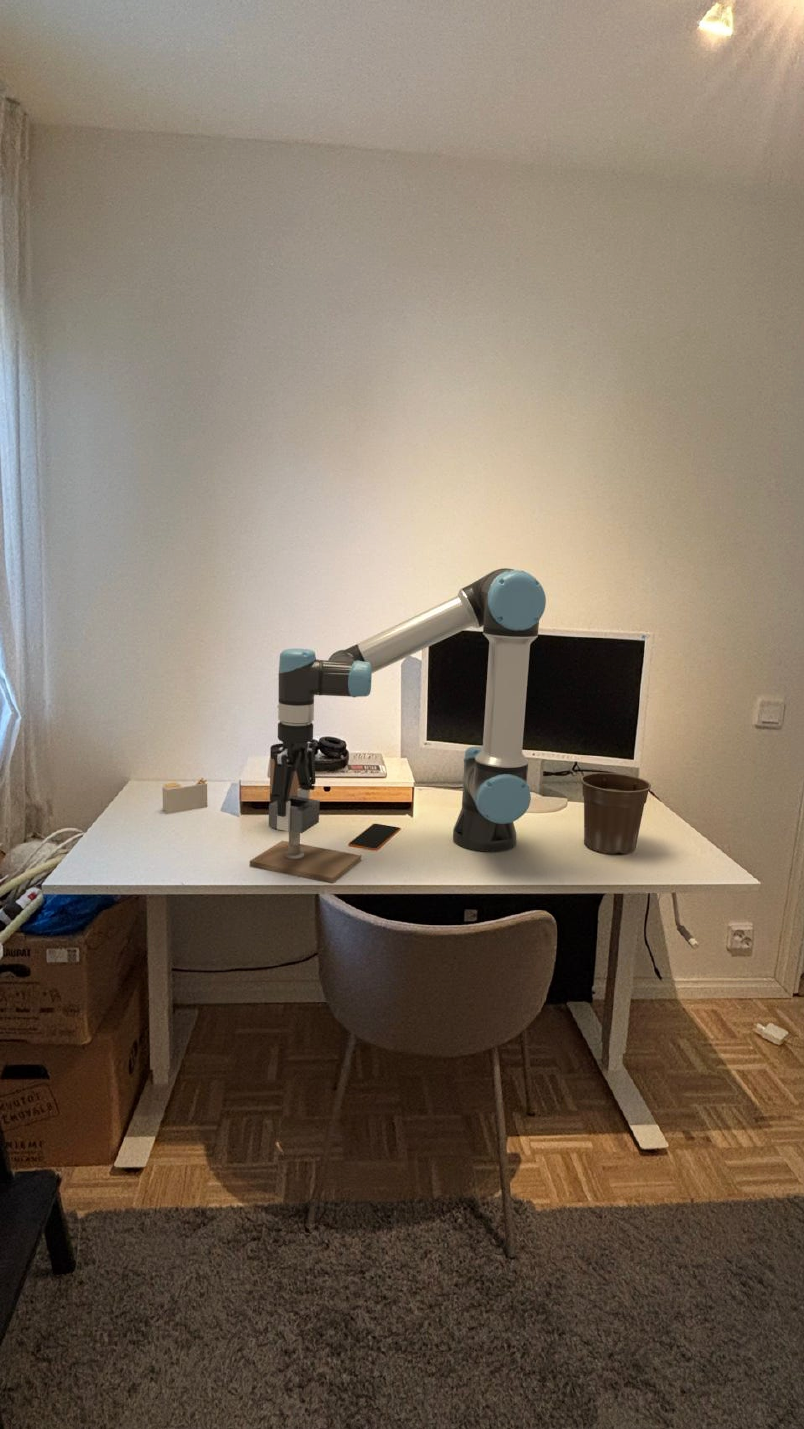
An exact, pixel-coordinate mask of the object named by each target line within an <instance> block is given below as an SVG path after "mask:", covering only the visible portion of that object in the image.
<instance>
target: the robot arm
mask: <svg viewBox="0 0 804 1429" xmlns="http://www.w3.org/2000/svg"><path fill="white" fill-rule="evenodd" d="M544 590H545V589H544V587H543V586H542V584H541V583H540V581H538V579H537V578H536V577H534V576H533V575H532V574H531V573H529V572H527V571H524V570H518V569H512V568H507V567H506V568H500V569H499V568H498V569H496V570H493V571H491V572H489V573H487V574H485V575H484V576H482V577H480V578H479V579H477V580H475V581H473V582H472V583H471V584H468V585H466V586H464V587H462V588H460V589H459V591H458V594H457V595H456V596H454V597H451V598H450V599H448V600H446V601H444V602H442V603H439V604H438V605H436V606H433V607H431V608H429V609H428V610H425V611H423V612H421V613H419V614H416V615H414V616H413V617H411V618H408V619H406V620H404V621H402V622H399V623H398V624H396V625H394V626H392V627H390V628H387V629H386V630H383V631H381V632H379V633H377V634H375V635H373V636H371V637H370V636H369V637H368V638H366V639H364V640H363V641H361V642H358V643H356V644H355V645H352V646H350V647H347V648H346V649H339V650H336V651H335V652H333V653H332V654H331V655H330V656H329V658H328V659H325V660H324V659H317V656H316V653H315V651H314V650H312V649H307V648H298V647H297V648H287V649H283V650H282V652H280V654H279V663H278V664H279V665H278V705H277V709H278V712H277V713H278V716H277V717H278V720H279V722H278V723H277V739H278V740H279V741H281V743H283V748H282V753H280V754H275V755H274V763H275V766H274V776H273V785H272V794H271V799H272V800H276V801H277V829H279V830H278V831H283V830H284V831H285V832H289V830H290V801H288V798H289V794H290V789H291V785H292V780H293V776H294V772H295V771H296V772H297V777H298V781H299V786H300V788H301V789H297V797H302V798H307V799H311V798H310V797H311V796H310V795H311V791H314V790H315V788H316V786H315V785H316V765H315V747H316V746H315V745H316V744H315V742H312V741H313V739H314V724H313V721H315V715H314V714H315V696H322V697H323V696H325V697H326V696H330V697H347V698H348V697H349V698H350V697H351V698H357V697H359V698H360V697H361V698H362V697H368V696H370V695H371V692H372V677H373V676H372V674H374V673H376V672H378V671H380V670H382V669H384V668H387V667H388V666H391V665H394V664H395V663H397V662H399V661H402V660H403V659H406V658H407V657H410V656H411V655H413V654H416V653H418V652H420V651H423V650H425V649H426V648H429V647H431V646H433V645H435V644H437V643H439V642H442V641H443V640H445V639H447V638H449V637H452V636H454V635H456V634H458V633H460V632H462V631H464V630H467V629H468V628H471V627H473V628H476V629H480V628H481V627H482V634H483V636H484V637H485V638H486V639H487V640H488V642H489V644H488V660H487V674H486V675H487V679H486V690H485V691H486V693H485V708H484V724H483V738H482V743H483V744H482V745H481V746H480V745H479V746H478V745H477V746H469V747H468V748H466V750H465V751H464V757H463V777H462V778H463V779H462V796H461V798H462V799H461V810H460V812H459V815H458V816H457V819H456V822H455V824H454V827H453V830H452V840H453V843H455V844H456V845H458V846H460V847H462V848H464V849H468V850H472V851H476V852H477V851H479V852H489V853H490V852H502V851H507V850H510V849H512V848H513V847H515V845H516V844H517V831H516V827H515V823H514V822H516V821H518V820H519V819H520V818H522V816H524V815H525V814H526V813H527V811H528V810H529V807H530V804H531V799H532V796H531V795H532V794H531V789H530V786H529V785H528V774H529V773H528V771H529V760H528V758H527V757H526V756H525V755H524V754H523V743H524V730H525V719H526V718H525V717H526V703H527V689H528V688H527V687H528V676H529V662H530V649H531V644H532V643H533V642H534V641H535V640H536V639H537V638H538V637H539V627H540V620H541V618H542V617H543V615H544V612H545V609H546V604H547V599H546V598H547V597H546V592H545V591H544ZM288 765H290V766H288Z"/></svg>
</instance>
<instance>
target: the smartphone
mask: <svg viewBox="0 0 804 1429" xmlns="http://www.w3.org/2000/svg"><path fill="white" fill-rule="evenodd" d="M401 830H402V829H401V827H400V826H399V827H398V826H394V825H388V824H381V823H372V824H371V825H369V826H368V827H367V828H366V829H365V830H364V831H362V832H361V833H359V834H358V835H357V836H356V837H355V838H354V839H352V840H351V841H350V842H348V843H347V846H348V847H351V848H356V849H363V850H369V851H373V852H375V851H376V852H377V851H378V850H379V849H381V848H382V847H383V846H384V845H385V844H387V843H388V842H389V841H390V840H391V839H392V838H393V837H395V835H396V834H397V833H399V832H400V831H401Z"/></svg>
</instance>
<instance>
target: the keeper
mask: <svg viewBox="0 0 804 1429" xmlns="http://www.w3.org/2000/svg"><path fill="white" fill-rule="evenodd" d="M300 842H301V833H297V832H292V831H288V841H287V840H281V841H279V842H278V843H276V844H274V845H273V846H271V847H269V848H268V849H267V850H264V851H263V852H261V853H260V854H258V855H257V856H255V857H253V858H252V859H250V860H249V867H251V868H257V869H262V870H266V871H272V872H277V873H279V874H280V873H281V874H287V875H291V876H295V877H301V878H306V879H311V880H316V881H320V882H325V883H330V884H334V883H335V882H337V881H338V880H339V879H340V878H342V876H343V875H345V874H346V873H347V872H348V871H350V870H351V869H353V867H355V866H356V865H358V864H359V863H360V862H361V861H362V855H361V854H355V853H350V852H346V851H345V852H344V851H340V850H336V849H335V850H334V849H330V848H325V847H318V846H313V845H307V844H303V843H300Z"/></svg>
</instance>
